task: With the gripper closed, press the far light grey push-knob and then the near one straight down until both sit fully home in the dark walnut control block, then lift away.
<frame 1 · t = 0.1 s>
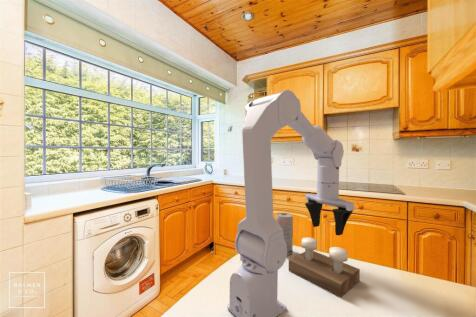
hand: (327, 230, 61), 10 cm above the countertop, tool pointing down, fingers open, 7 cm apart
knob far: (309, 249, 58), point 5 cm above the countertop, slide at 2.5 cm
control block: (322, 275, 55), on the countertop
knob near: (338, 261, 52), point 5 cm above the countertop, slide at 2.5 cm
energy drink: (283, 252, 69), on the countertop
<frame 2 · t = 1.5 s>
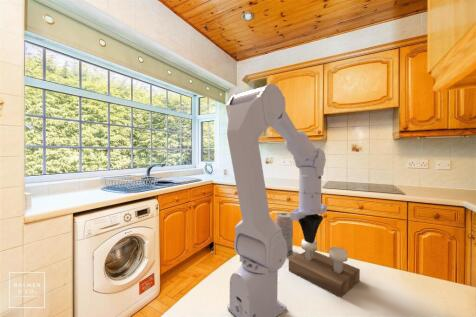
hand: (309, 241, 58), 8 cm above the countertop, tool pointing down, fingers closed, pressing on knob far
knob far: (309, 251, 58), point 5 cm above the countertop, slide at 2.1 cm, touching gripper
everything else where it was.
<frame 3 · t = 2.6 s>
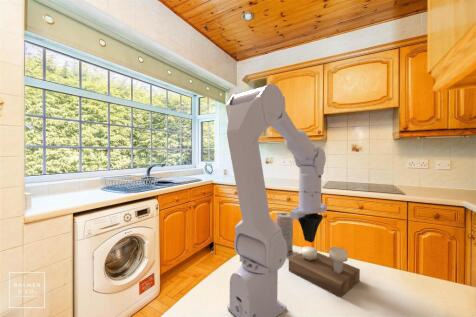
hand: (309, 240, 58), 8 cm above the countertop, tool pointing down, fingers closed
knob far: (309, 259, 58), point 3 cm above the countertop, slide at -0.1 cm
everything else where it was.
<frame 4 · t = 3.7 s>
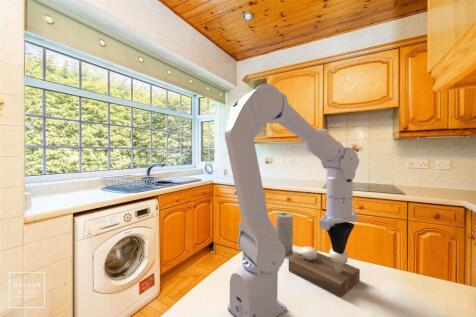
hand: (338, 252, 52), 8 cm above the countertop, tool pointing down, fingers closed, pressing on knob near
knob near: (338, 262, 52), point 5 cm above the countertop, slide at 2.1 cm, touching gripper
everything else where it was.
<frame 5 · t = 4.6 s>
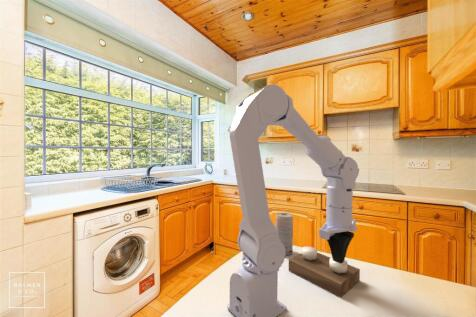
hand: (338, 261, 52), 5 cm above the countertop, tool pointing down, fingers closed
knob near: (338, 271, 52), point 3 cm above the countertop, slide at -0.1 cm
everything else where it was.
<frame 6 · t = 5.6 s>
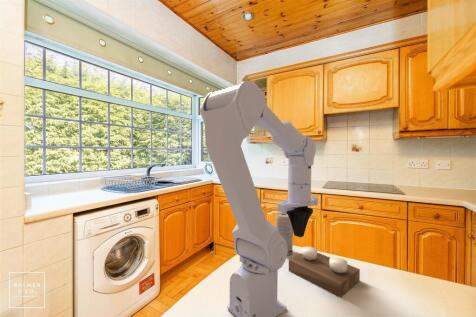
hand: (298, 235, 55), 10 cm above the countertop, tool pointing down, fingers closed
nothing on the countertop moved.
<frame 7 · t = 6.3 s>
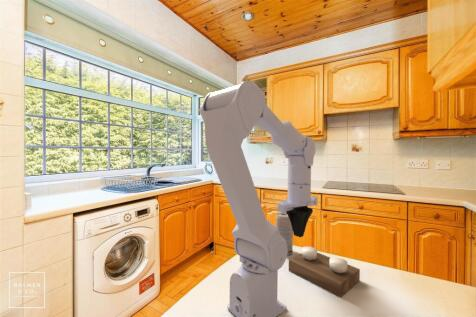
hand: (298, 235, 55), 10 cm above the countertop, tool pointing down, fingers closed
nothing on the countertop moved.
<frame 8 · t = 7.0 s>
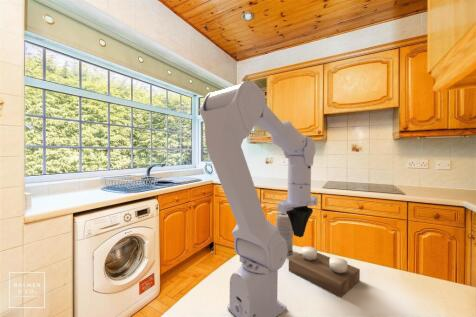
hand: (298, 235, 55), 10 cm above the countertop, tool pointing down, fingers closed
nothing on the countertop moved.
at the end: knob far slide at -0.1 cm; knob near slide at -0.1 cm; energy drink moved 0.2 cm from its start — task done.
